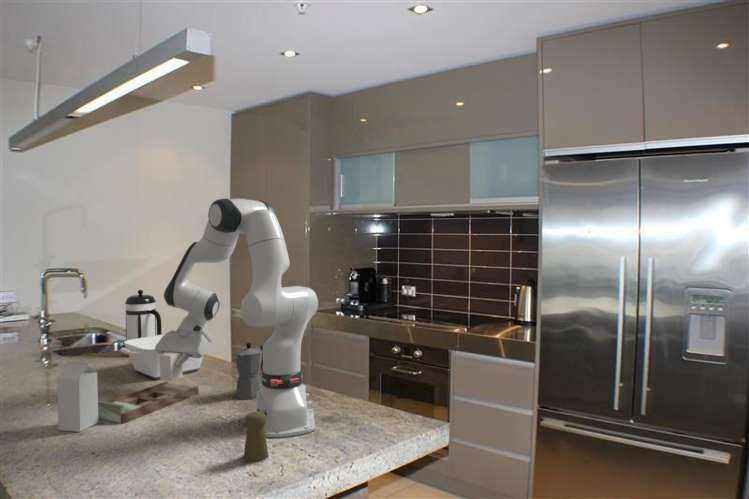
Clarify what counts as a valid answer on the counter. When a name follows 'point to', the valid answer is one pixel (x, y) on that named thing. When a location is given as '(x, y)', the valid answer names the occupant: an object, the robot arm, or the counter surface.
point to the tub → (152, 357)
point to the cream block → (170, 366)
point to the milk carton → (77, 397)
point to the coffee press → (141, 317)
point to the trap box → (143, 402)
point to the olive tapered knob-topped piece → (255, 437)
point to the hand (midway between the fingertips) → (169, 365)
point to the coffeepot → (249, 371)
